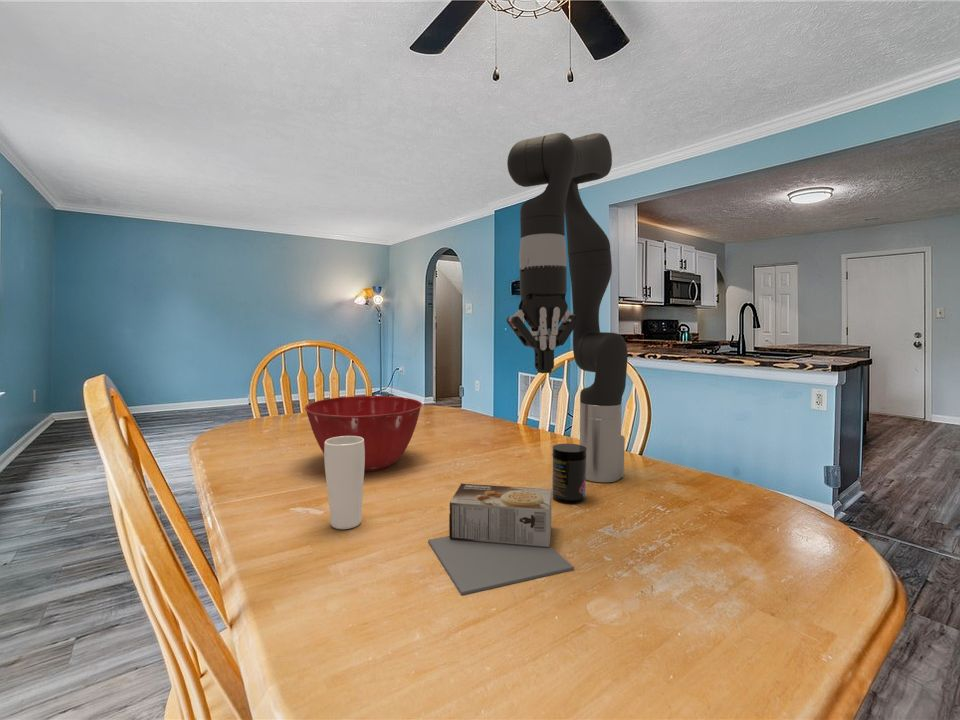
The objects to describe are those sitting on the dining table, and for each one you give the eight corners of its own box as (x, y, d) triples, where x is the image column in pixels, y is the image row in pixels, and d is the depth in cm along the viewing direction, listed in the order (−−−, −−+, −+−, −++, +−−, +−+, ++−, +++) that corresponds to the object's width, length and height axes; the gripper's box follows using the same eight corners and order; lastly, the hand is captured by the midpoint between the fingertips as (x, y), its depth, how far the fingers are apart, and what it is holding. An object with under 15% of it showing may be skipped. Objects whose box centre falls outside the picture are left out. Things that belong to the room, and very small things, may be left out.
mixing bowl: (445, 459, 122) (444, 400, 121) (363, 491, 98) (362, 419, 97) (368, 444, 137) (367, 392, 136) (281, 469, 113) (279, 406, 112)
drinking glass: (373, 519, 84) (372, 437, 83) (351, 535, 77) (349, 446, 76) (341, 514, 86) (339, 434, 85) (317, 529, 80) (315, 443, 78)
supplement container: (579, 507, 89) (580, 453, 88) (546, 500, 93) (547, 449, 92) (590, 496, 95) (591, 446, 94) (558, 490, 98) (559, 441, 98)
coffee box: (551, 524, 81) (461, 517, 84) (552, 488, 80) (461, 482, 83) (549, 549, 72) (448, 539, 75) (550, 508, 71) (448, 500, 74)
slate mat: (522, 525, 81) (522, 523, 81) (574, 569, 66) (574, 566, 66) (428, 542, 75) (428, 539, 75) (461, 595, 60) (461, 592, 60)
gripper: (564, 269, 81) (565, 368, 83) (495, 267, 76) (498, 373, 77) (591, 264, 74) (591, 372, 76) (517, 262, 69) (519, 378, 71)
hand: (544, 372), depth 77 cm, fingers closed
